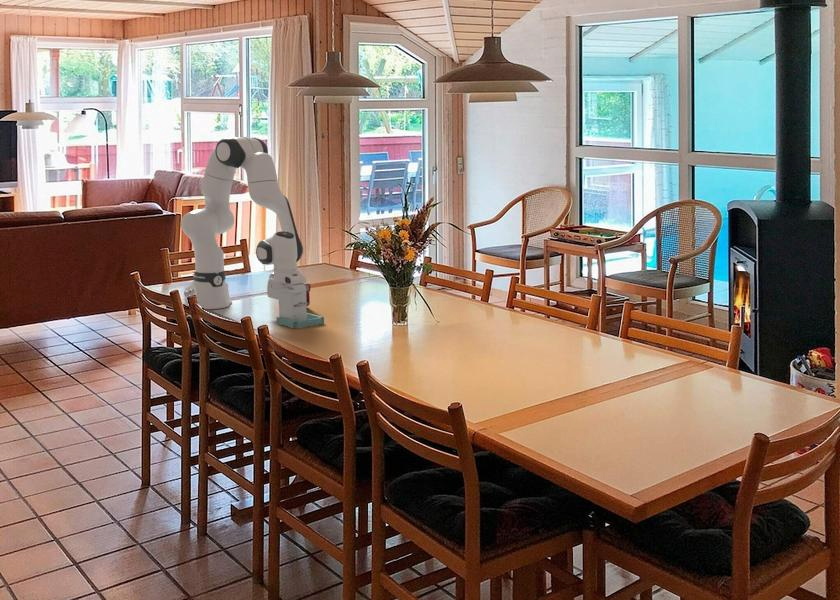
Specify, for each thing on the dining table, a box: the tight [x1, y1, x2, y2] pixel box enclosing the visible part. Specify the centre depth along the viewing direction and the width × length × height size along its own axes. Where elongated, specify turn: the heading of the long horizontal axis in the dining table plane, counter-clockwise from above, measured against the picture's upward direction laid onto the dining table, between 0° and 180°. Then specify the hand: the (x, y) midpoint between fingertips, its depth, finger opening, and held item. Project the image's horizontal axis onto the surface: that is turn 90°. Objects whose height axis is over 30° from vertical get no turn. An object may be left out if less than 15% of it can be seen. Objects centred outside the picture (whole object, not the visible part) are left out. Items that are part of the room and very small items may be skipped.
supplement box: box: [278, 288, 308, 321], centre depth 343 cm, size 7×7×13 cm
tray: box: [275, 312, 325, 329], centre depth 343 cm, size 12×13×2 cm
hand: (286, 312), depth 350 cm, fingers closed
